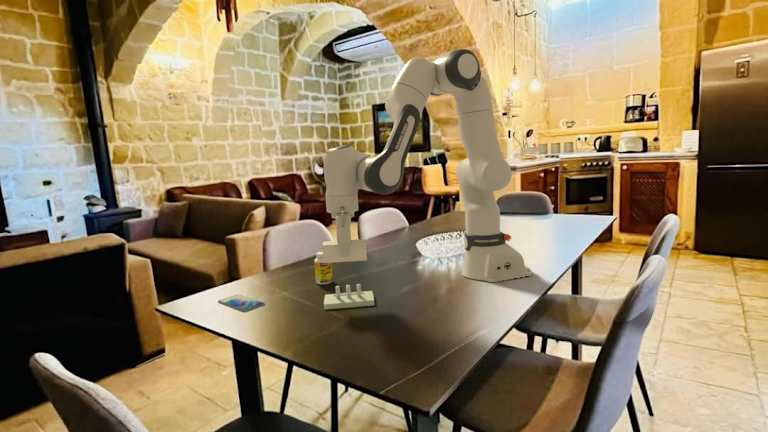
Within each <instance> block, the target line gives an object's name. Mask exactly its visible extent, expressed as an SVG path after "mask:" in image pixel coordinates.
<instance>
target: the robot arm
mask: <svg viewBox="0 0 768 432" xmlns="http://www.w3.org/2000/svg"><path fill="white" fill-rule="evenodd" d="M392 83H393V84H392V85H391V87H390V89H389V91H388V93H387V96H386V99H385V104H384V108H385V111H386V114H387V115H388V117H389V119H391V120H392V121H393V127H392V130H391V131H390V134H389V137H388V139H387V142H386V144H385V146H384V148H383V149H382V150H383V151H382V152H381V153H380V154H378V155H377V156H370V155H368V154H365V153H363V152H361V151H359V150H357V149H356V148H355V147H354V146H352V145H349V144H345V145H344V144H343V145H340V146H339V145H338V146H334V147H330V148H329V149H328V150H327V151H326V152H325V153H324V158H323V159H324V160H323V161H324V162H323V174H324V182H325V185H326V190H325V206H326V213H328V214H331V219H335V230H336V231H335V232H336V241H337V244H338V245H341V251H342V257H348V244H350V243H351V240H352V233H351V231H352V230H351V223H352V218H355V212H358V211H359V198H358V197H359V196H358V194H359V193H358V192H359V190H365V191H367V192H373V193H376V194H379V195H380V196H381V195H382V196H387V195H390V194H393V193H394V192H395V191H396V190H398V189H399V187H400V186H401V185H402V182H403V179H404V173H405V171H404V170H405V165H406V164H405V163H406V160H407V157H408V154H409V152H410V149H411V146H412V144H413V141H414V138H415V137H416V134H417V131H418V129H419V126H420V122H421V116H422V112H423V110H424V108H425V107H426V105H427V102H428V100H429V98H430V96H434V97H435V96H437V97H439V96H442V95H447V94H452V96H453V97H454V99H455V102H456V115H457V125H458V132H459V140H460V142H461V143H462V145H463V147H464V149H465V152H466V155H467V157H466V158H464V159H461V161H459V162H458V164H457V165H456V168H455V177H456V180H457V181H458V183H459V187H460V192H461V196H462V200H463V207H464V218H465V219H464V222H465V223H464V225H465V232H464V236H463V245H464V250H465V252H464V261H463V266H462V267H463V268H462V269H461V275H462V276H463V277H465V278H468V279H472V280H476V281H477V280H479V281H485V282H489V283H495V282H503V280H504V281H509V279H510V280H515V279H514V278H517V279H521V278H520V277H523V278H526V277H525V276H529V275H532V276H533V271H532V269H530V267H528V266H526V264H525V260H524V257H523V255H522V253H520V252H519V251H517V250H516V249H515V248H513V246H511V245H509V244H508V243H507V242H509V241H511V240H512V236H511V235H510V234H509V233H504V232H502V231H501V210H500V206H499V205H498V203H497V200H496V197H495V193H494V192H498V191H502V190H504V189H505V188H506V187H507V186H509V184H510V182H511V181H512V176H513V173H512V168H511V166H510V164H509V163H508V162H507V160H506V159H505V157H504V154H503V153H502V150H501V146H500V144H499V141H498V137H497V133H496V126H495V117H494V106H493V100H492V96H491V91H490V86H489V84H488V81H487V79H486V78H485V77H483V76H482V70H481V64H480V61H479V60H478V57H477V56H476V54H475V53H474V52H473V51H472V50H470V49H466V48H459V49H455V50H452V51H450V52H447V53H445V54H442V55H440V56H438V57H437V58H435V59H434V60H432V61H430V60H428V59H427V58H424V57H418V56H416V57H413V58H410V59H409V60H408V61H407V62H406V63H405V65H404V66H403V67H402V69H401V70H400V71H399V73H398V75H397V76H396V78H395V79H394V81H393V82H392ZM529 277H530V276H529Z"/></svg>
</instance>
